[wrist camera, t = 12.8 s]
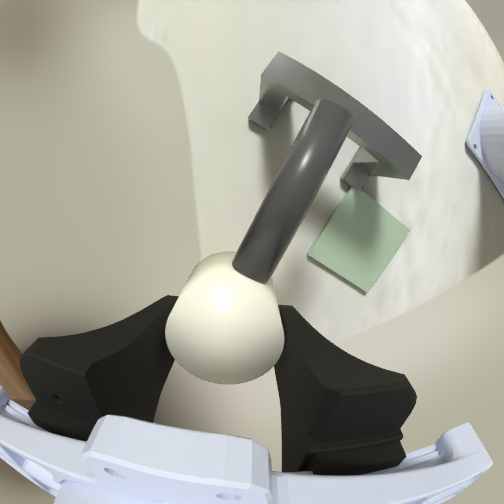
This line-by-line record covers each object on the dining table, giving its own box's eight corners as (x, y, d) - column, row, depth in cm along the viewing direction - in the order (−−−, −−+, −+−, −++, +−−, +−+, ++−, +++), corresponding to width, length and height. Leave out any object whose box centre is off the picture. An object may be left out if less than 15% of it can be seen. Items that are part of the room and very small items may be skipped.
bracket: (385, 143, 17) (431, 137, 11) (356, 190, 18) (396, 201, 12) (281, 71, 16) (292, 33, 10) (248, 119, 17) (245, 96, 11)
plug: (361, 143, 11) (406, 135, 7) (240, 357, 14) (238, 411, 10) (279, 96, 10) (294, 63, 6) (168, 326, 13) (145, 376, 10)
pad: (407, 229, 19) (409, 230, 18) (365, 290, 20) (367, 292, 20) (352, 184, 18) (354, 184, 17) (307, 253, 19) (308, 254, 19)
